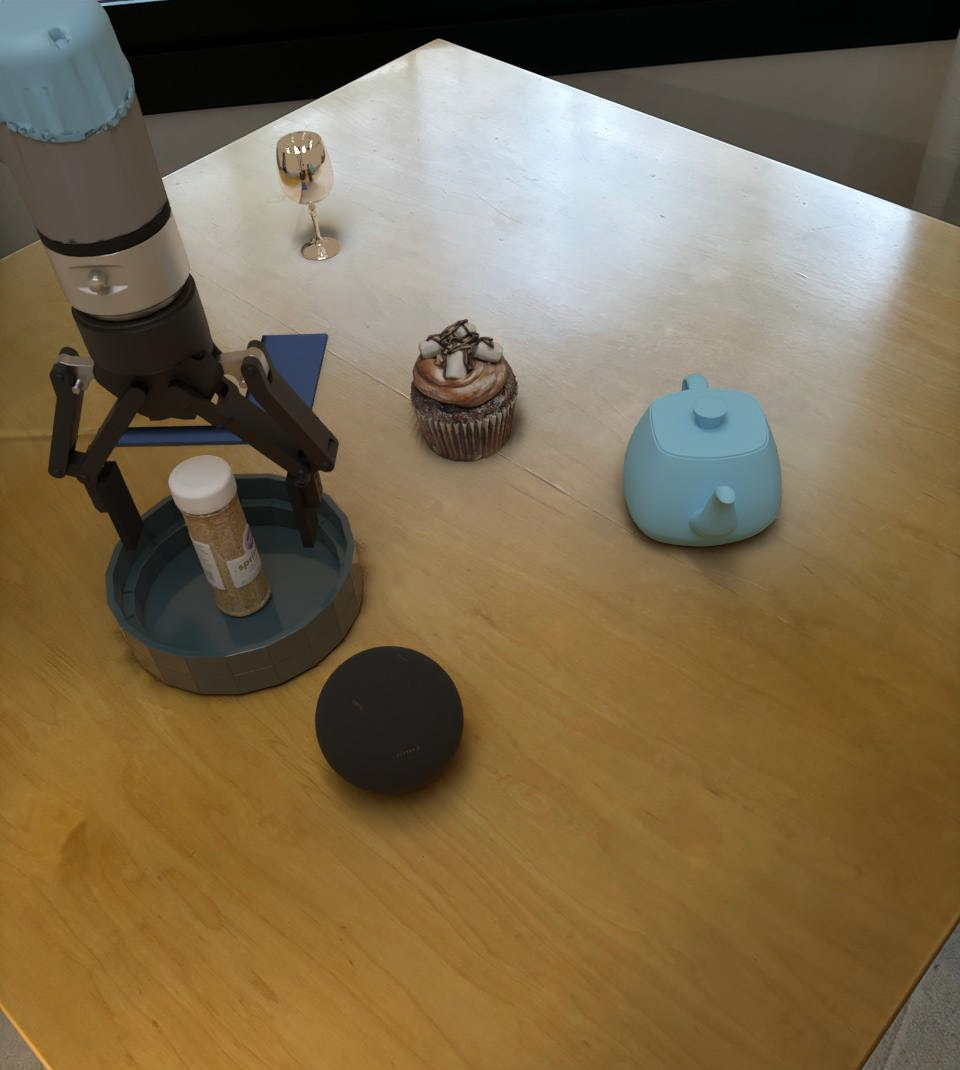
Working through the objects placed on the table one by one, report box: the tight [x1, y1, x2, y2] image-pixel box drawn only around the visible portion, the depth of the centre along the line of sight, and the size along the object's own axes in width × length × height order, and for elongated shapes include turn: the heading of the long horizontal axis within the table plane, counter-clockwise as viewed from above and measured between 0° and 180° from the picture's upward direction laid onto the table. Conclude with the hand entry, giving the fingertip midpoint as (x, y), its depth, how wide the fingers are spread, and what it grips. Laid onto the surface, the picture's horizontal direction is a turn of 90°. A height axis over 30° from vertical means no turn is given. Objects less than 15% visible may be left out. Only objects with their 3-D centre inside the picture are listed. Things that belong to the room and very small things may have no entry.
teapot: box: [622, 373, 783, 547], centre depth 85 cm, size 13×11×18 cm
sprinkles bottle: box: [167, 454, 271, 617], centre depth 81 cm, size 5×5×13 cm
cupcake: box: [409, 318, 520, 462], centre depth 94 cm, size 10×10×10 cm
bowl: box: [104, 472, 365, 695], centre depth 85 cm, size 19×19×5 cm
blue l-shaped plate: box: [97, 332, 329, 447], centre depth 104 cm, size 20×16×1 cm
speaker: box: [314, 645, 465, 796], centre depth 73 cm, size 10×10×10 cm
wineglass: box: [275, 130, 342, 261], centre depth 114 cm, size 6×6×12 cm
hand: (222, 536), depth 81 cm, fingers open, 13 cm apart
